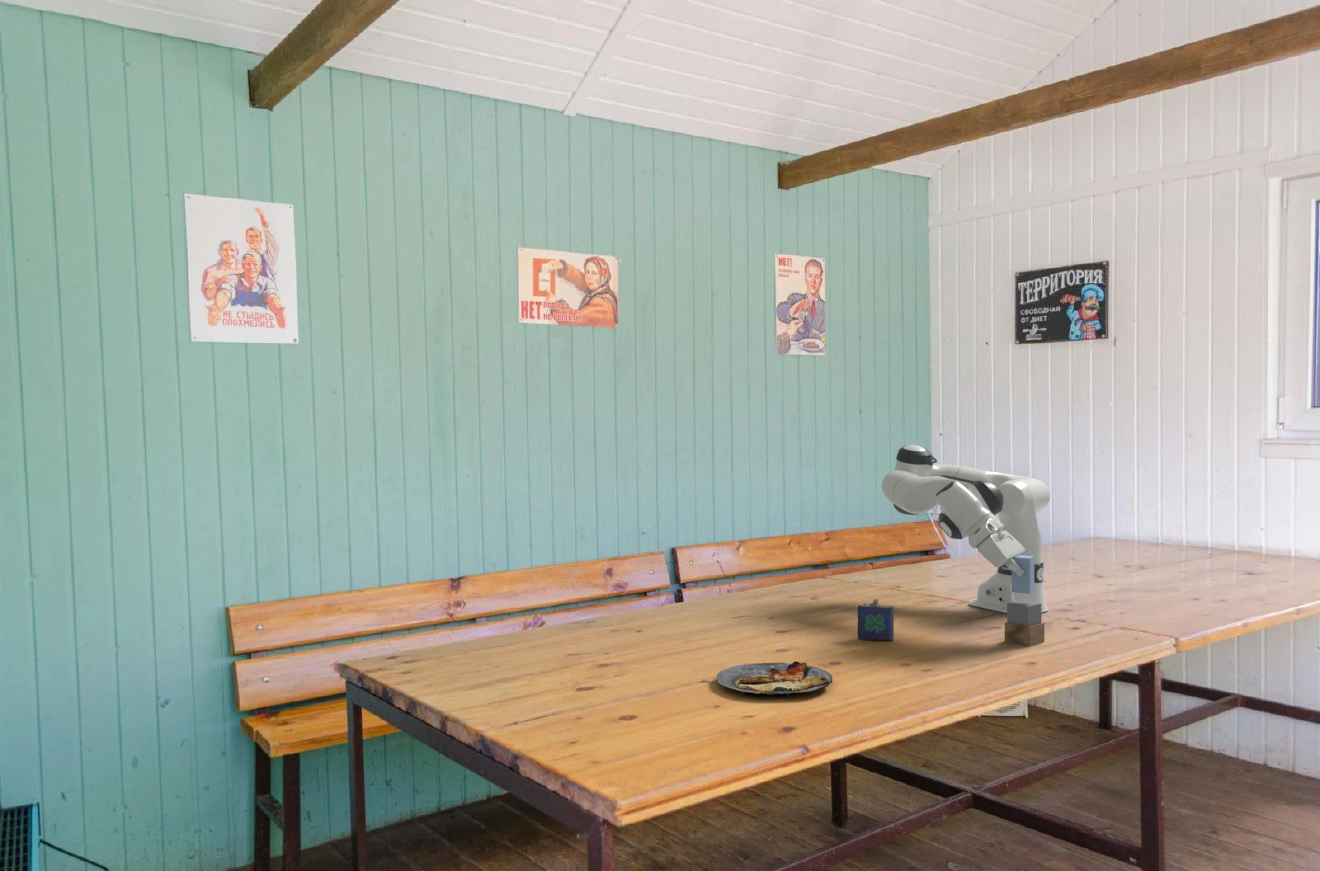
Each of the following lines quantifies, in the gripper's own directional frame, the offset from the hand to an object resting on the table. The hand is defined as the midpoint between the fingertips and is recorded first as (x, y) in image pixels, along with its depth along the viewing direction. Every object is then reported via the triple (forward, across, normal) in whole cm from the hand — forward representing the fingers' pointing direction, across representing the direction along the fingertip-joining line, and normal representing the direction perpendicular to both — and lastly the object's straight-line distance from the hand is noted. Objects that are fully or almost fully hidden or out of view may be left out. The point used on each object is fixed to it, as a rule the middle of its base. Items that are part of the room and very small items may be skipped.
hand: (1025, 572), depth 248 cm
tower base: (+12, 0, -13) cm, 18 cm away
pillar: (+3, 0, -4) cm, 5 cm away
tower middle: (+9, 0, -9) cm, 13 cm away
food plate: (-13, +70, -38) cm, 80 cm away
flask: (-11, +18, -36) cm, 42 cm away
